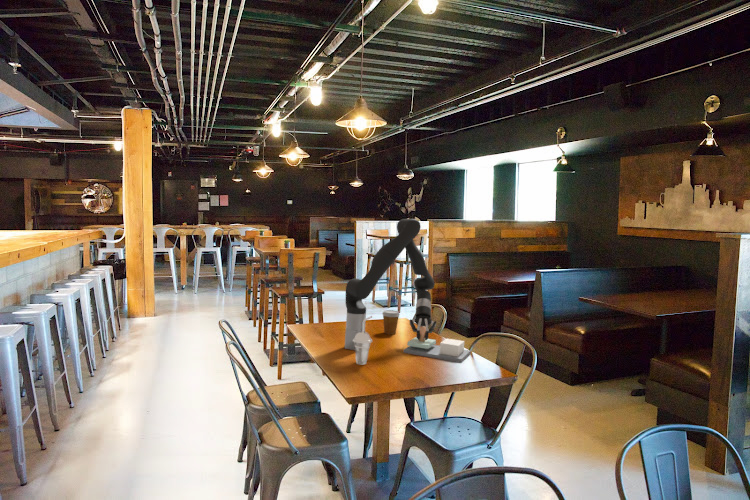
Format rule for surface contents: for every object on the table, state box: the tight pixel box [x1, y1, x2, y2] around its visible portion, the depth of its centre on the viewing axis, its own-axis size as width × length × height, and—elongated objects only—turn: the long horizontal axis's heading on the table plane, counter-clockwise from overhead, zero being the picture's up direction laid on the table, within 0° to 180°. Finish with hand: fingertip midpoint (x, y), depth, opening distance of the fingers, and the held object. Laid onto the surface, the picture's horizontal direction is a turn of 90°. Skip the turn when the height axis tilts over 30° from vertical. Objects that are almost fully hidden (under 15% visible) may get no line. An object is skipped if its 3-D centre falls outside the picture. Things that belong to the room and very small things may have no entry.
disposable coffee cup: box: [382, 309, 400, 335], centre depth 276 cm, size 10×10×12 cm
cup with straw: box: [353, 315, 373, 366], centre depth 215 cm, size 8×9×20 cm
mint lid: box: [407, 326, 437, 349], centre depth 242 cm, size 12×10×9 cm
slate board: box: [402, 344, 472, 363], centre depth 239 cm, size 18×28×2 cm, turn 66°
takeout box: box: [439, 338, 465, 356], centre depth 236 cm, size 11×9×5 cm
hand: (422, 338), depth 240 cm, fingers closed on mint lid, 3 cm apart
